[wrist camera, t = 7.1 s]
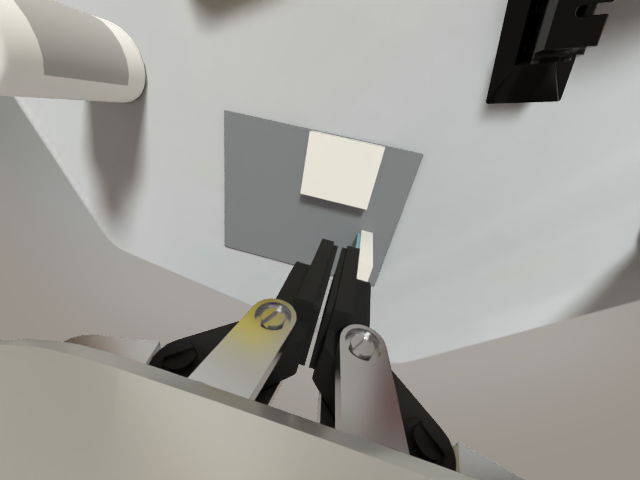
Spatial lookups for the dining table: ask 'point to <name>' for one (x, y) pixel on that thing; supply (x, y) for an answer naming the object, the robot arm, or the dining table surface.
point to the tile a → (340, 169)
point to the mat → (301, 196)
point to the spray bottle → (66, 54)
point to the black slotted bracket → (542, 48)
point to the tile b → (364, 254)
